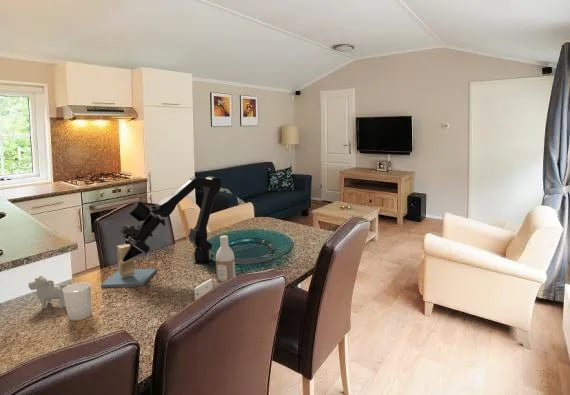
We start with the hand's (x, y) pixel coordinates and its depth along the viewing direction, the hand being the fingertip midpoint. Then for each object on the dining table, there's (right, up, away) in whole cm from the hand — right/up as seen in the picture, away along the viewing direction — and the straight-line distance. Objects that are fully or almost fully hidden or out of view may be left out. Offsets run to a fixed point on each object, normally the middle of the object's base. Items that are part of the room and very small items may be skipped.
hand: (121, 259), depth 151 cm
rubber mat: (+2, -8, +3) cm, 9 cm away
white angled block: (+38, -12, -22) cm, 46 cm away
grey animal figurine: (-16, -13, -20) cm, 28 cm away
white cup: (-2, -14, -27) cm, 31 cm away
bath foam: (+43, -9, -8) cm, 45 cm away
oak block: (+1, -6, +2) cm, 7 cm away
